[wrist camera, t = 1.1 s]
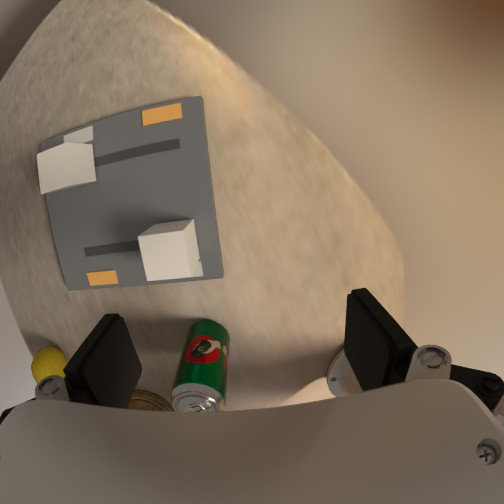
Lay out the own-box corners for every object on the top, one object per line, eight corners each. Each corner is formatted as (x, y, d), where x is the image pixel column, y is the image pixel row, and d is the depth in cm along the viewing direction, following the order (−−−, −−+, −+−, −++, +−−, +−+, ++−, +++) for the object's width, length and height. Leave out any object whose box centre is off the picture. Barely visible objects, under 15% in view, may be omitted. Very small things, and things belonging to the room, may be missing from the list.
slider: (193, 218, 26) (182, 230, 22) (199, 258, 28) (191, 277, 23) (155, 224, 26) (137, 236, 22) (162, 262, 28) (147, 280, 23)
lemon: (80, 367, 34) (58, 400, 27) (55, 362, 34) (33, 392, 27) (68, 339, 33) (42, 371, 25) (43, 335, 33) (17, 363, 25)
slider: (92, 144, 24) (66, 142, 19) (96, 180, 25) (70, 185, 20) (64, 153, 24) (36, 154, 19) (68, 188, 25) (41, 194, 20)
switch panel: (203, 99, 25) (200, 95, 23) (223, 272, 30) (222, 278, 29) (47, 143, 25) (39, 142, 23) (73, 285, 30) (67, 291, 29)
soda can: (180, 330, 32) (156, 401, 21) (212, 310, 32) (198, 382, 20) (206, 357, 34) (194, 430, 22) (238, 339, 33) (236, 414, 21)
